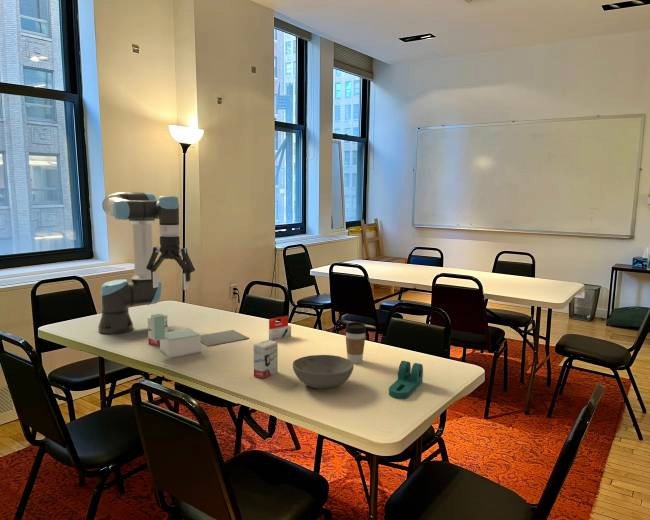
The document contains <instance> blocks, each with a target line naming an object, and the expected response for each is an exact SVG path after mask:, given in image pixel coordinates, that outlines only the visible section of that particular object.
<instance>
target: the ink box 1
mask: <svg viewBox="0 0 650 520" xmlns="http://www.w3.org/2000/svg"><path fill="white" fill-rule="evenodd" d="M161 314H162V315H164V327H165V332H169V330H168V329H169V328H168V327H169V326H168V314H165V313H164V314H163V313H161ZM147 332H148V333H147V335H148V338H147V339H148V340H147V341H148V342H147V343H148V345H152V346H153V345H154V346H155V345H156V346H160V340H157V341H154V340H153V339H152V338H151V316H148V317H147Z"/></svg>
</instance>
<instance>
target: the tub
mask: <svg viewBox="0 0 650 520" xmlns="http://www.w3.org/2000/svg"><path fill="white" fill-rule="evenodd" d="M201 344H202V343H201V341H200V336H196V337H190V338H184V339H178V340H172V341H169V340H167V339H163V340H160V344H159V349H160V350H159V351H160V353H162V354H163V355H165V356H166V357H168V358H169V359H172V358H178V357H184V356H188V355H194V354H199V353H201V349H202V348H201V346H202V345H201Z"/></svg>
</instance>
